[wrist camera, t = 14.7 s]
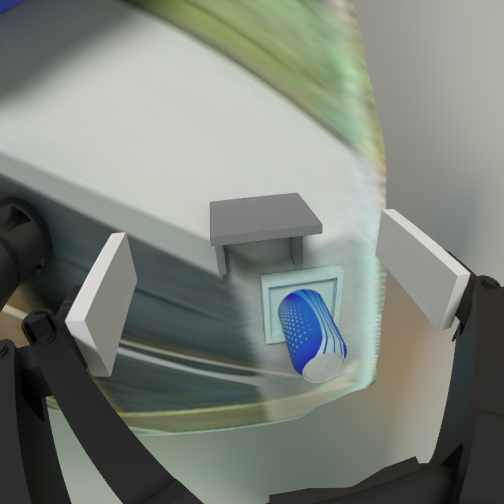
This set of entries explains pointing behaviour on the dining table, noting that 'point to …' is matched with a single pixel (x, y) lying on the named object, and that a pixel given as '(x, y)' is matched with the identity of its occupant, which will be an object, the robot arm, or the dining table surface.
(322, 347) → the beer can
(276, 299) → the tray
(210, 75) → the dining table surface
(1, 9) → the caddy
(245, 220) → the bay
